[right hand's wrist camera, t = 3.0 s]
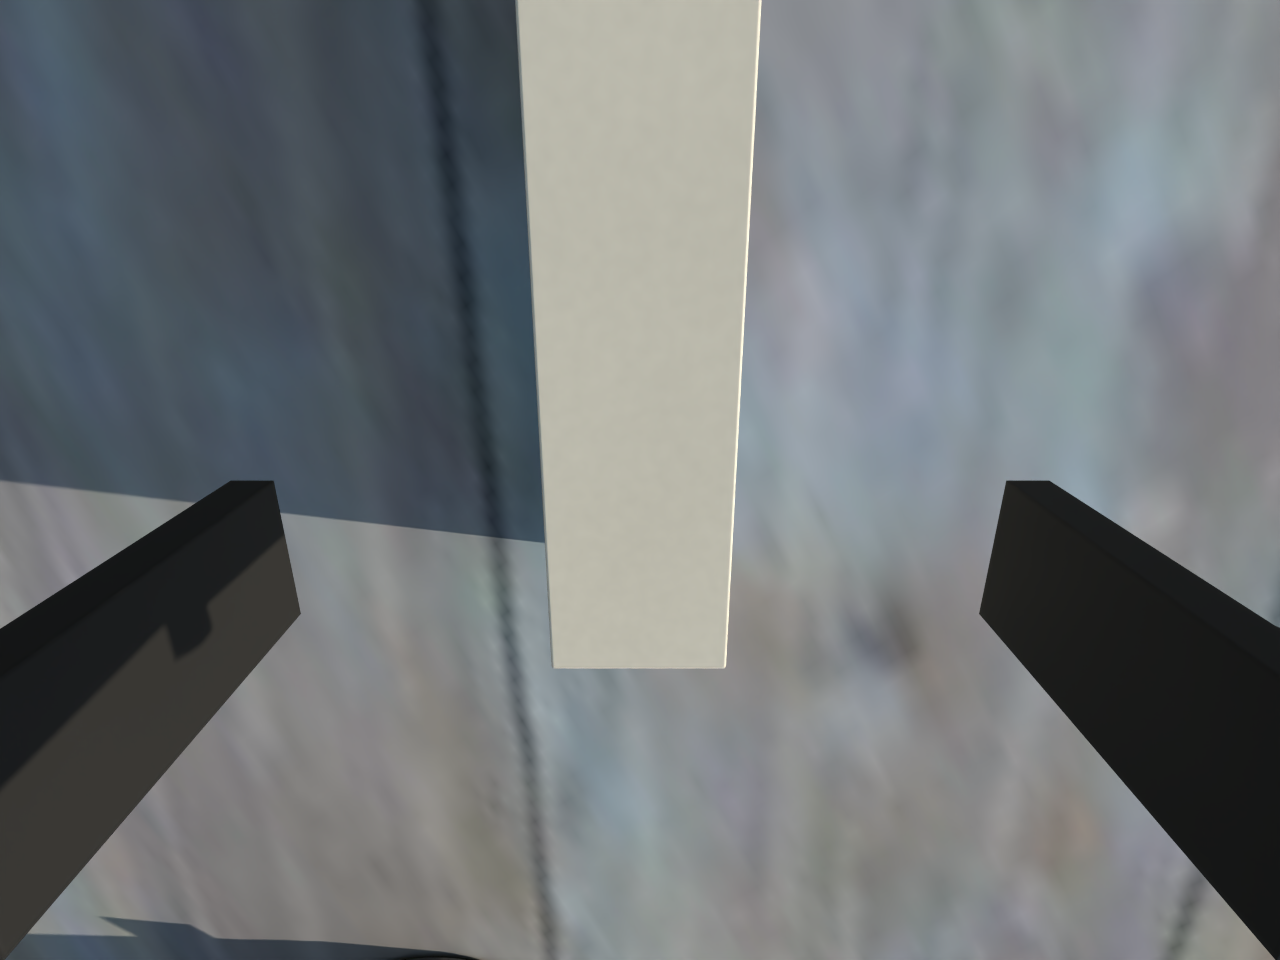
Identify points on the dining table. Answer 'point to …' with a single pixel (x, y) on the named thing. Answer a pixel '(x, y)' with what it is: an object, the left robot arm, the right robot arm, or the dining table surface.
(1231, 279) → the dining table surface
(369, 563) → the dining table surface
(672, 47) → the beam
